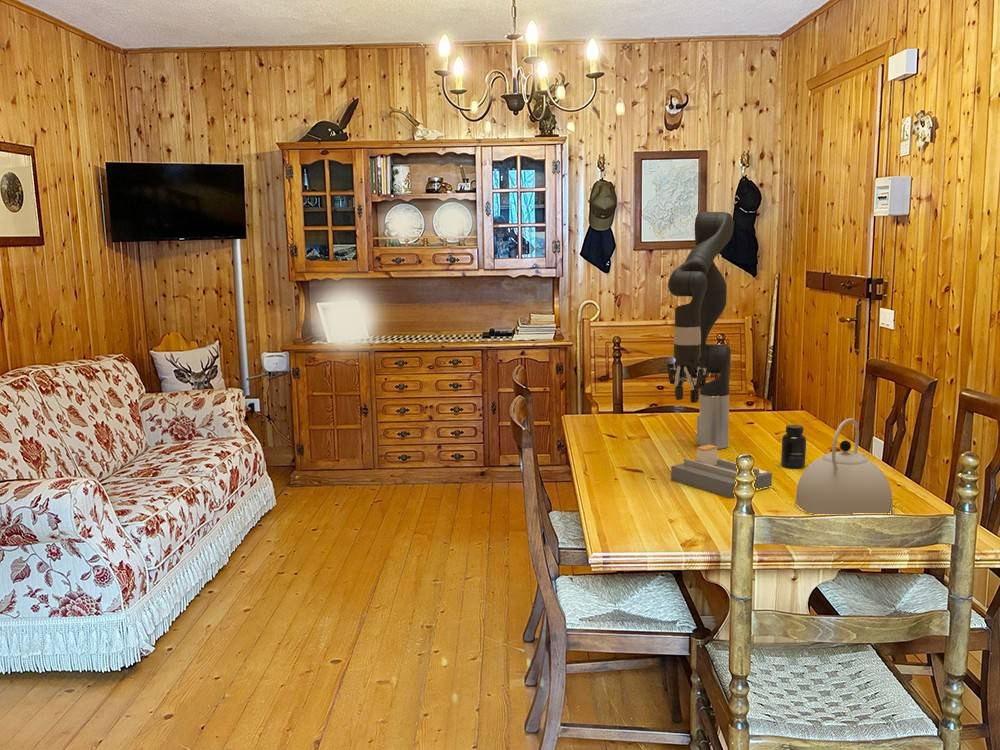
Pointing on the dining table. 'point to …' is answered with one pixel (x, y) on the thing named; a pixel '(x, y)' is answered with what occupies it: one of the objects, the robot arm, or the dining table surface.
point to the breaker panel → (715, 476)
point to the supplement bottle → (793, 447)
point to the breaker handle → (707, 454)
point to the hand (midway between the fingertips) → (686, 400)
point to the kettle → (844, 482)
